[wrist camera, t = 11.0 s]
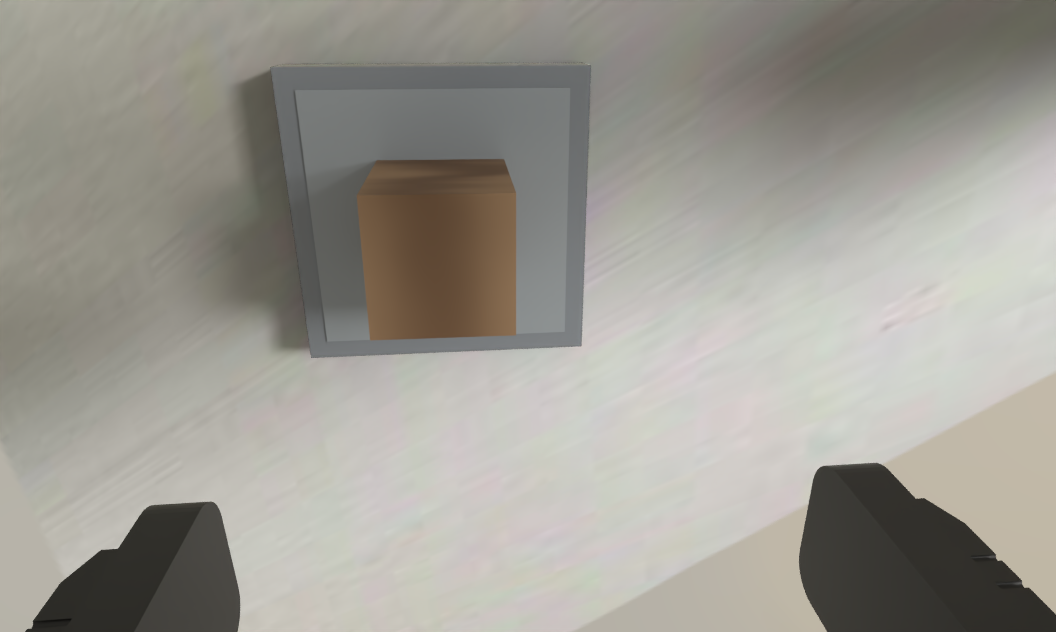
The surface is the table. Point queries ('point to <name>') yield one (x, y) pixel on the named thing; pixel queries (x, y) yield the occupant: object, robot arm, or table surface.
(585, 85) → the slate coaster
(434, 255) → the walnut block
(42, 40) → the table surface
